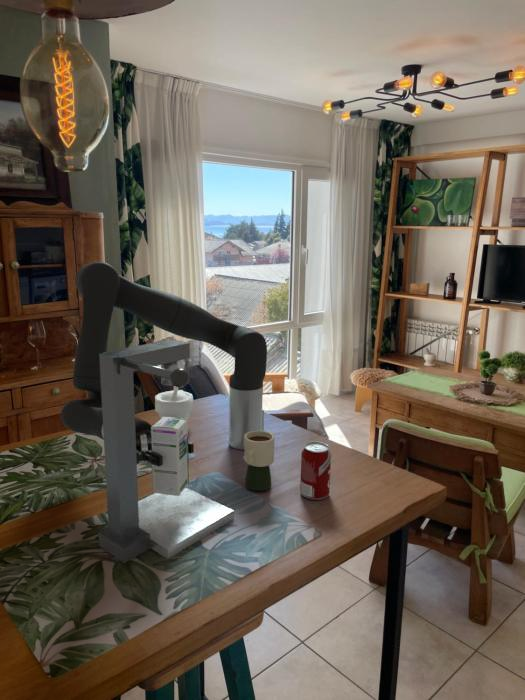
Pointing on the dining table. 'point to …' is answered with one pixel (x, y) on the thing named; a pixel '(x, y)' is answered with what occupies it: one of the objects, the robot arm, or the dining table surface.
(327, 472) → the soda can
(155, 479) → the syrup box
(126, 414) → the bench press
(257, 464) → the character mug
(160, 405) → the mortar and pestle
